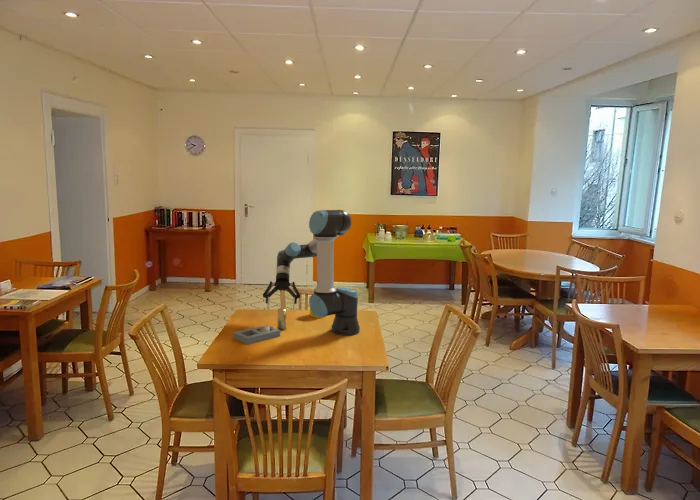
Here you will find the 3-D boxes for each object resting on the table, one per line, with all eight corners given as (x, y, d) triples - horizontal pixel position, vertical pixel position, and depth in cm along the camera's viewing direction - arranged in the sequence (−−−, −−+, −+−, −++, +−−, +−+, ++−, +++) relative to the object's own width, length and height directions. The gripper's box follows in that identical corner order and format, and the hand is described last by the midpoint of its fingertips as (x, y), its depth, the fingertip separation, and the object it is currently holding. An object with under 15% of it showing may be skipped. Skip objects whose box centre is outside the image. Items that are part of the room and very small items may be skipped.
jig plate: (280, 336, 259) (280, 330, 258) (247, 344, 245) (247, 338, 244) (266, 330, 267) (266, 324, 267) (233, 338, 253) (233, 332, 253)
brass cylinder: (287, 329, 269) (288, 309, 268) (280, 331, 266) (281, 311, 264) (282, 327, 272) (282, 307, 271) (275, 329, 269) (275, 309, 268)
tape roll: (317, 312, 304) (317, 296, 303) (330, 315, 299) (330, 299, 297) (306, 315, 296) (306, 300, 295) (319, 319, 291) (320, 303, 289)
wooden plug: (271, 335, 259) (271, 327, 258) (263, 337, 255) (263, 329, 255) (265, 332, 263) (265, 324, 262) (257, 334, 259) (257, 326, 258)
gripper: (304, 279, 290) (304, 312, 277) (260, 278, 287) (257, 311, 275) (305, 272, 283) (304, 305, 271) (260, 271, 281) (257, 304, 269)
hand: (280, 308), depth 273 cm, fingers open, 13 cm apart
